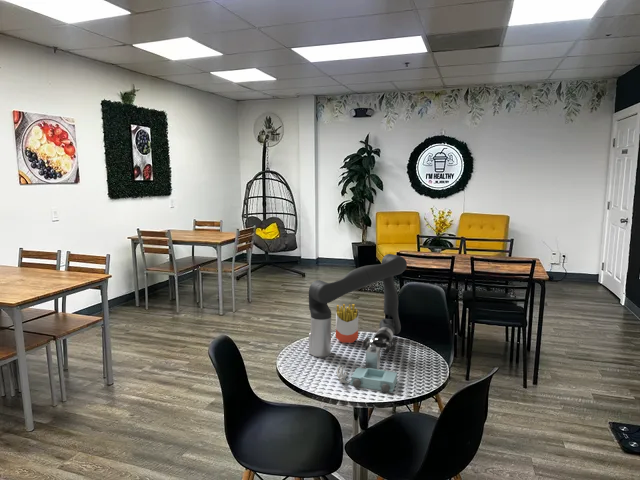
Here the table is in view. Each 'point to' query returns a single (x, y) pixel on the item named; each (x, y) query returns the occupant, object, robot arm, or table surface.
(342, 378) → the soldier figure
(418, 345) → the table surface
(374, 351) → the knobbed metal block
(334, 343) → the table surface
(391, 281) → the robot arm
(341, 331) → the french fries container
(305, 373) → the table surface
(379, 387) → the chassis
